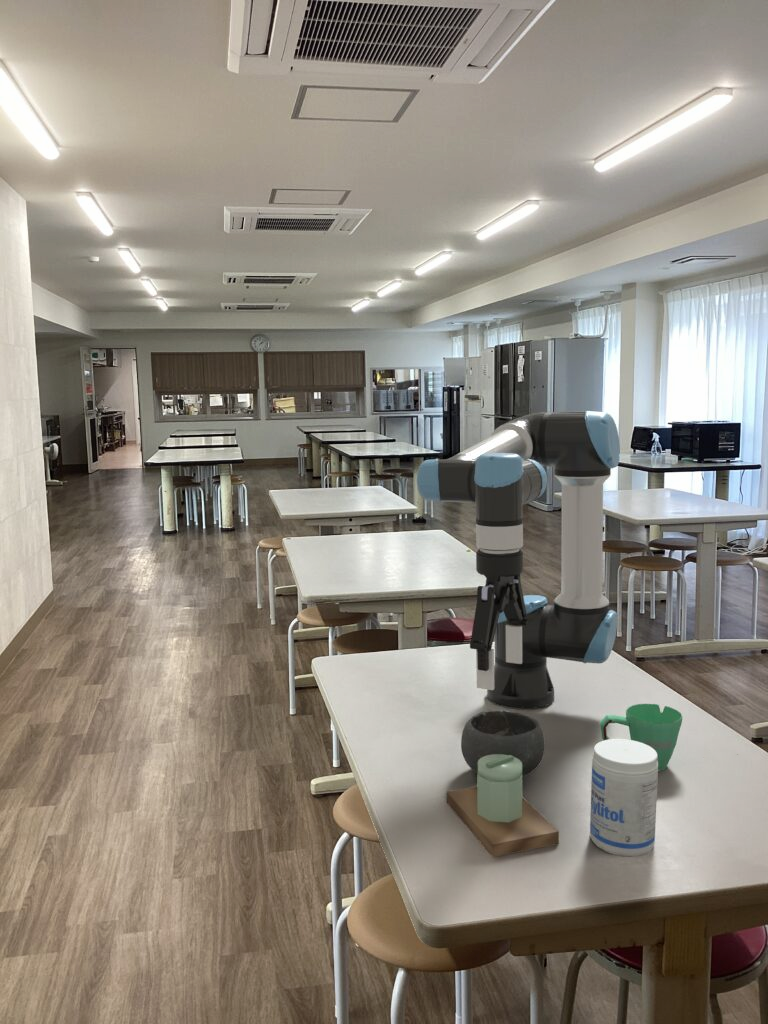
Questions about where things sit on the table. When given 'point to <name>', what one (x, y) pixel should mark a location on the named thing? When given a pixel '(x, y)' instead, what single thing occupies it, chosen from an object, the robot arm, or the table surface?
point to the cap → (499, 788)
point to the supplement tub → (623, 797)
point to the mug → (650, 728)
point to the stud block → (503, 825)
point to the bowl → (503, 738)
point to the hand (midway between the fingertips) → (500, 675)
